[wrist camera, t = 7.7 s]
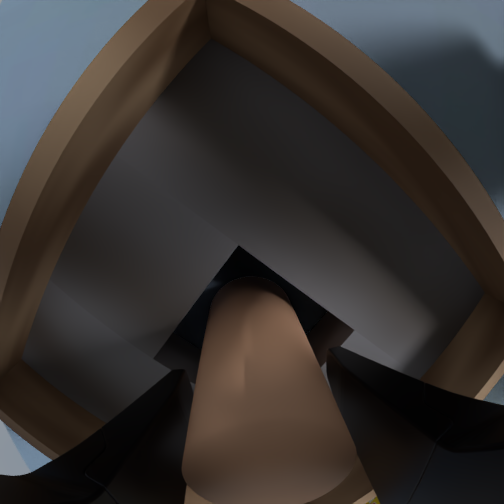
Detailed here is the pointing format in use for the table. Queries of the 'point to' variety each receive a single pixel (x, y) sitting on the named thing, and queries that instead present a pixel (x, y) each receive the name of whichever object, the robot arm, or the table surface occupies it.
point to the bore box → (238, 218)
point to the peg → (262, 406)
